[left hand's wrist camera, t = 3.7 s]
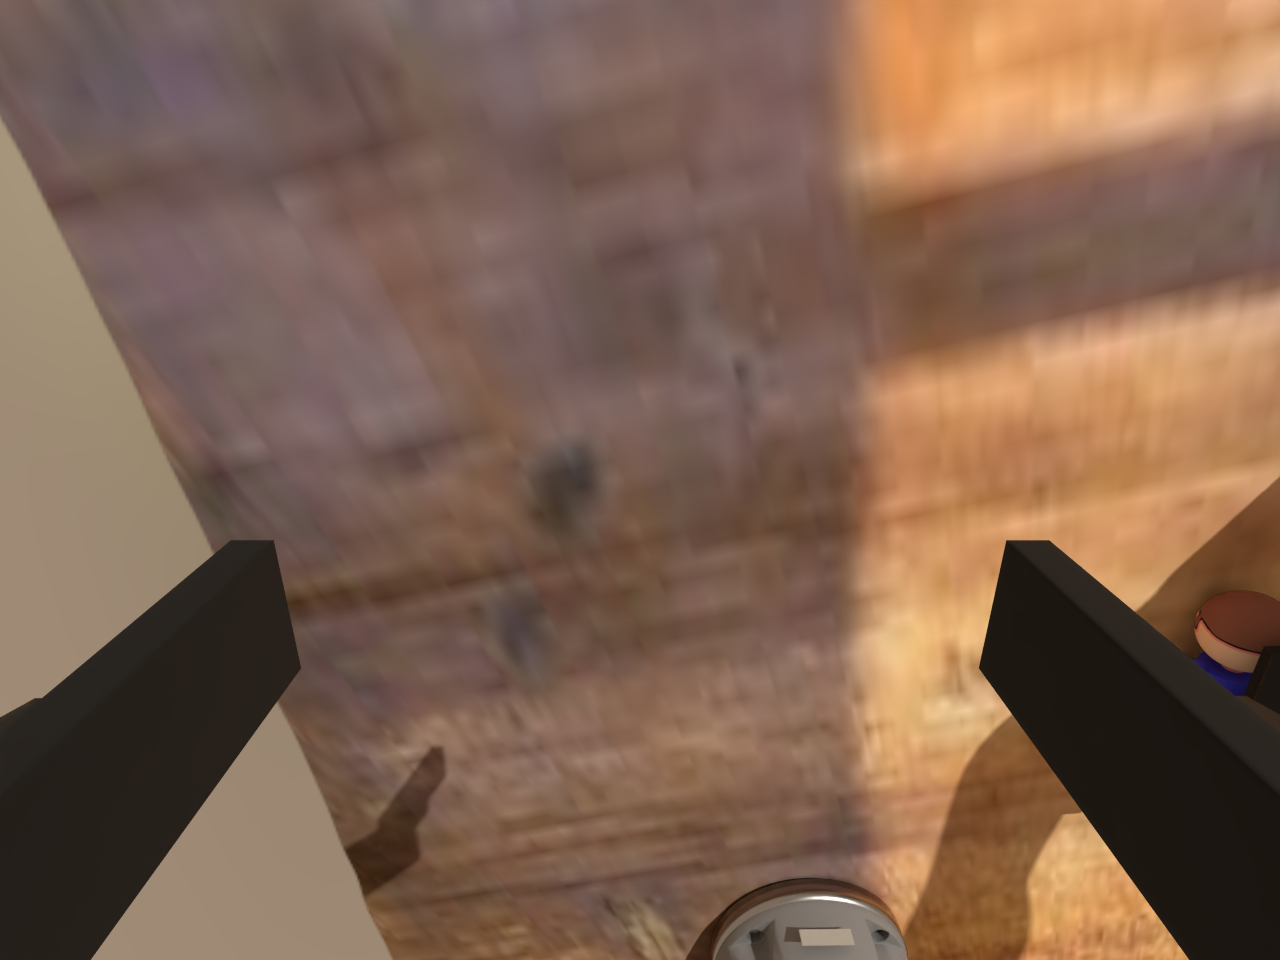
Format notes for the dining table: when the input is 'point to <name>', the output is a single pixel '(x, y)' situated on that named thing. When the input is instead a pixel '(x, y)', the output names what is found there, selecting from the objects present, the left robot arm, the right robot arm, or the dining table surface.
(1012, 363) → the dining table surface
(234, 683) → the left robot arm
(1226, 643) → the figurine character
